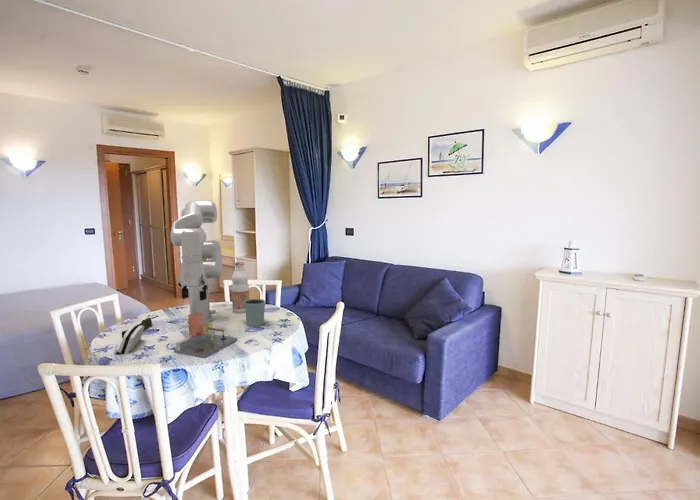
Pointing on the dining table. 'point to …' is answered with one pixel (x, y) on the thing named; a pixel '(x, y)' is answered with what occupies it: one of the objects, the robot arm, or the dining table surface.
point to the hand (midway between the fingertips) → (194, 298)
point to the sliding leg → (197, 325)
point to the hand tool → (145, 323)
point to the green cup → (254, 312)
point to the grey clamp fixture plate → (204, 342)
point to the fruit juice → (239, 288)
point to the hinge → (130, 339)
